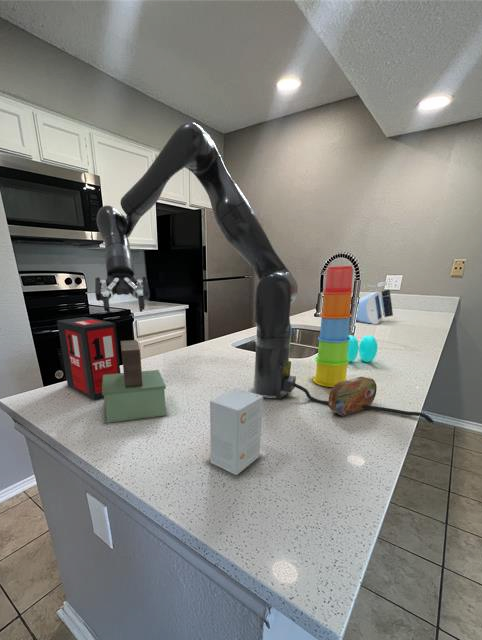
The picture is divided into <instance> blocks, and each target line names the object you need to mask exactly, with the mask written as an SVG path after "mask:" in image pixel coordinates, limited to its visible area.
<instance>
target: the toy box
mask: <svg viewBox="0 0 482 640" xmlns="http://www.w3.org/2000/svg"><path fill="white" fill-rule="evenodd" d="M142 384H143V386H138V387H128V388H126V387H125V380H124V372H120V373H118V374H107V375H103V383H102V395H104V397H103V400H104V407H105V409H104V410H105V415H106V423H107V424H108V423H115V422H121V421H122V422H123V421H130V420H141V419H147V418H155V417H156V418H157V417H162V416H163V417H164V416H166V415H167V412H166V396H165V395H166V394H165V390H166V388H167V387H166V383H165V381H164V379H163V377H162V375H161V372H160V370H159V369H153V370H144V371H143V370H142Z"/></svg>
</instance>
